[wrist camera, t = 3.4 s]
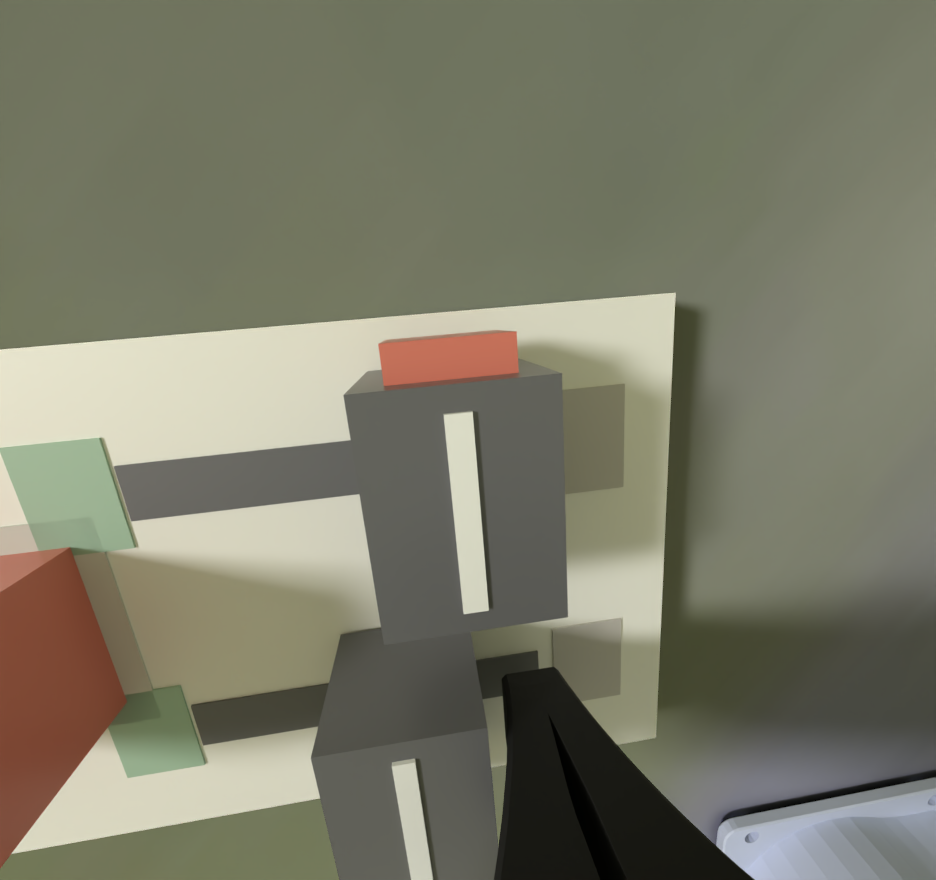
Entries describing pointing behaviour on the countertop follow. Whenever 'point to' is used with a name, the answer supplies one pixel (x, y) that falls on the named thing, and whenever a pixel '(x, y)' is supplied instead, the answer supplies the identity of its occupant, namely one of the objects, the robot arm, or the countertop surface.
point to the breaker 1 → (461, 485)
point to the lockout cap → (47, 684)
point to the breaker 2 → (406, 761)
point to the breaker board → (304, 540)
